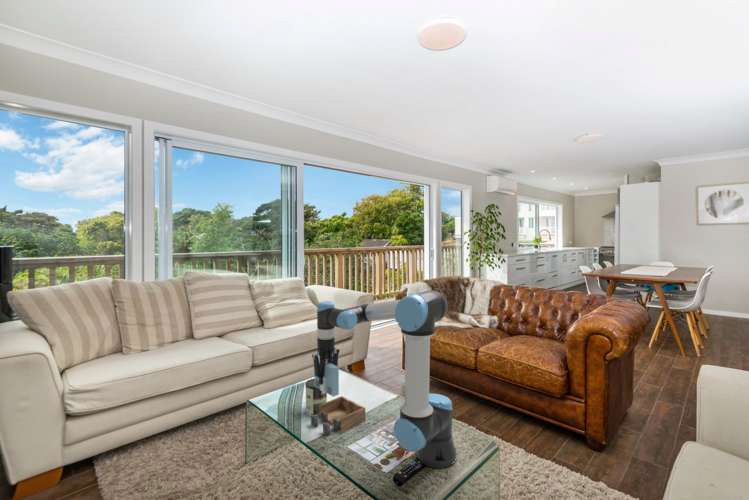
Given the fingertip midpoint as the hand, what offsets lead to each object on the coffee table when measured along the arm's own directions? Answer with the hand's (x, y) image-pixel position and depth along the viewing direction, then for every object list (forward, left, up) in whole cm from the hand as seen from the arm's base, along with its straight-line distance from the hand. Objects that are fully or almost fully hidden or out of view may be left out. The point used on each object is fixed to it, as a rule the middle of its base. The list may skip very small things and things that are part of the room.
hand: (326, 389), depth 160 cm
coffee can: (+16, -6, -17) cm, 24 cm away
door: (0, 0, 0) cm, 0 cm away
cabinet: (+1, -6, -17) cm, 18 cm away
